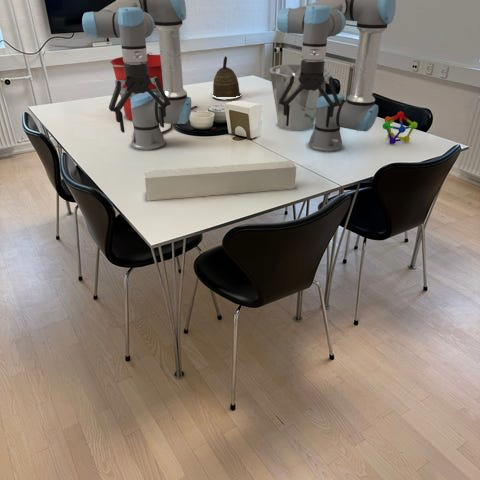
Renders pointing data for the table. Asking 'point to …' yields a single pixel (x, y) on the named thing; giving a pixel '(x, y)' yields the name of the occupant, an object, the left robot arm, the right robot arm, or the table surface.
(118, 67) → the bucket
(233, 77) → the bell
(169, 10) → the left robot arm
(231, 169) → the beam
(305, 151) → the table surface
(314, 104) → the bucket
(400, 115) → the educational toy
